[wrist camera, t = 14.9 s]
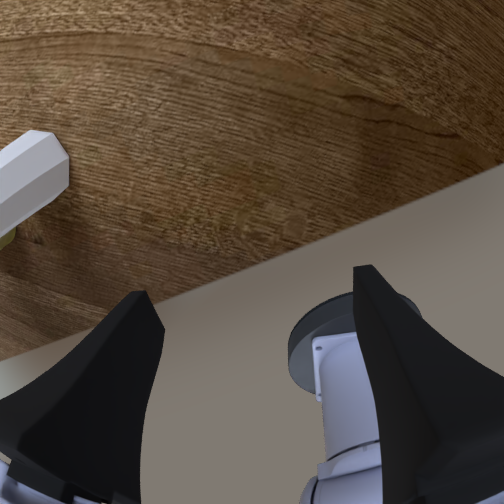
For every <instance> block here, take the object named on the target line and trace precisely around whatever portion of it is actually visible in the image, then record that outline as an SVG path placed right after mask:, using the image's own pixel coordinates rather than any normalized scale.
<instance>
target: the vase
mask: <svg viewBox="0 0 504 504" xmlns="http://www.w3.org/2000/svg"><path fill="white" fill-rule="evenodd" d="M15 233H16V226H15V227H14V228H13V229H11V230H10V231H9V232H7V233H6V234H5V235H3V236H2V237H1V238H0V251H1V249H2V248H3V247H4V246H6V245H8V244H9V243H10V242H11V241H12V240H13V239H14V237H15Z"/></svg>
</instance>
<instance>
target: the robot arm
mask: <svg viewBox="0 0 504 504" xmlns="http://www.w3.org/2000/svg"><path fill="white" fill-rule="evenodd" d="M353 317H354V322H355V328H356V332H350V333H343V334H335V335H328V336H320V337H315V338H314V339H313V340H312V352H313V364H314V378H315V392H316V401H318V402H322V410H323V422H324V437H325V452H326V462H324V463H320V464H318V465H317V466H318V475H317V476H314V477H312V478H311V479H310V480H309V482H308V483H307V485H306V487H305V488H304V490H303V492H302V494H301V498H300V502H299V504H504V377H503V376H501V375H499V374H498V373H496V372H494V371H492V370H491V369H489V368H487V367H485V366H484V365H482V364H481V363H479V362H477V361H476V360H474V359H473V358H472V357H470V356H469V355H467V354H466V353H464V352H463V351H461V350H460V349H458V348H457V347H456V346H454V345H453V344H452V343H450V342H449V341H448V340H447V339H445V338H444V337H443V336H442V335H441V334H439V333H438V332H437V331H436V330H435V329H433V328H432V327H431V326H430V325H429V324H428V323H427V322H426V321H425V320H424V319H423V318H422V317H420V316H419V315H418V314H417V313H416V312H415V311H414V310H413V309H412V308H411V307H410V306H409V305H408V304H407V303H406V302H405V300H404V299H403V298H402V297H401V296H400V295H399V294H398V293H397V292H396V291H395V290H394V289H393V288H392V287H391V285H390V284H389V283H388V282H387V281H386V280H385V279H384V278H383V277H382V275H381V274H380V273H379V272H378V271H377V270H376V268H375V267H374V266H373V265H364V266H356V267H353ZM164 333H165V328H164V326H163V324H162V322H161V320H160V318H159V317H158V315H157V313H156V311H155V309H154V307H153V305H152V303H151V301H150V298H149V296H148V294H147V292H146V290H143V291H132V292H130V293H129V294H128V295H127V296H126V297H125V298H124V299H123V300H122V301H121V302H120V303H119V304H118V305H117V306H116V307H115V308H114V309H113V310H112V311H111V312H110V313H109V314H108V315H107V316H106V317H105V318H104V319H103V320H102V321H101V322H100V323H99V324H98V325H97V326H96V327H95V328H94V329H93V330H92V332H90V333H89V334H88V335H87V336H86V337H85V338H84V339H83V340H82V341H81V342H80V343H79V344H78V345H77V346H76V347H75V348H74V349H73V350H72V351H71V352H69V353H68V354H67V355H66V356H65V357H64V358H63V359H61V360H60V361H59V362H58V363H57V364H55V365H54V366H53V367H52V368H50V369H49V370H48V371H46V372H45V373H43V374H42V375H41V376H39V377H38V378H36V379H35V380H34V381H32V382H31V383H29V384H28V385H26V386H24V387H23V388H21V389H20V390H18V391H16V392H14V393H13V394H11V395H9V396H7V397H5V398H3V399H1V400H0V452H2V453H3V454H4V455H6V456H7V457H9V458H10V459H12V461H11V463H10V465H9V464H7V463H6V462H4V461H2V460H1V459H0V504H101V503H106V504H141V494H140V454H141V443H142V433H143V425H144V419H145V412H146V408H147V403H148V400H149V396H150V393H151V389H152V386H153V382H154V379H155V375H156V372H157V368H158V365H159V361H160V358H161V354H162V348H163V341H164Z"/></svg>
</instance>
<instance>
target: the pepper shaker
mask: <svg viewBox="0 0 504 504" xmlns="http://www.w3.org/2000/svg"><path fill="white" fill-rule="evenodd" d="M68 186H69V155H68V154H67V153H66V151H65V150H64V148H63V147H62V145H61V144H60V142H59V141H58V139H57V138H56V136H55V135H54V134H53V133H50V132H42V131H35V130H29V131H28V132H26V133H25V134H23V135H22V136H20V137H19V138H18V139H16V140H15V141H13V142H12V143H10V144H9V145H8V146H6V147H5V148H4V149H2V150H1V151H0V238H1V237H2V236H3V235H5V234H6V233H7V232H9V231H10V230H11V229H13V228H14V227H15V226H17V225H18V224H20V223H21V222H22V221H24V220H25V219H27V218H28V217H29V216H31V215H32V214H34V213H35V212H37V211H38V210H40V209H41V208H43V207H44V206H46V205H47V204H49V203H50V202H52V201H53V200H54V199H55V198H56V197H57V196H58V195H59V194H60V193H61V192H63V191H64V190H65V189H66V188H67V187H68Z"/></svg>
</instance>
